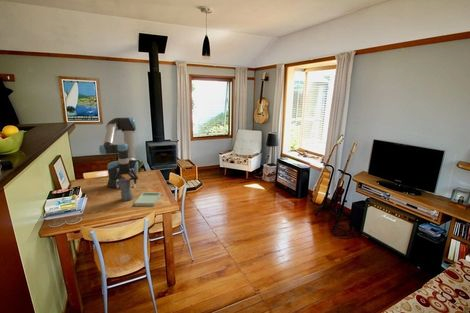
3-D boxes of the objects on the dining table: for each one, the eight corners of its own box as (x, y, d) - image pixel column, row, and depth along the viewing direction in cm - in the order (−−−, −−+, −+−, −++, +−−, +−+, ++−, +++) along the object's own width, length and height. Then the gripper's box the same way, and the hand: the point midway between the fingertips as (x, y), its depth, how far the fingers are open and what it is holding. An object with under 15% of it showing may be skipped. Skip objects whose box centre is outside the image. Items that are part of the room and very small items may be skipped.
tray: (142, 194, 211) (142, 192, 210) (161, 194, 212) (161, 192, 211) (134, 205, 191) (133, 202, 190) (154, 205, 192) (154, 203, 191)
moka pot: (115, 199, 200) (113, 177, 195) (134, 194, 211) (132, 173, 206) (120, 203, 194) (117, 180, 189) (138, 198, 205) (137, 175, 199)
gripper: (106, 164, 190) (108, 189, 195) (138, 164, 191) (140, 189, 196) (110, 161, 197) (113, 185, 203) (141, 161, 198) (143, 185, 204)
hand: (126, 187), depth 199 cm, fingers open, 13 cm apart
